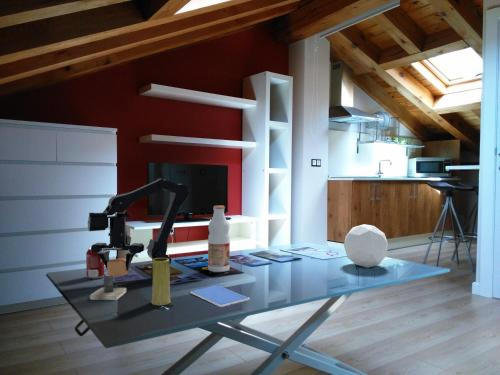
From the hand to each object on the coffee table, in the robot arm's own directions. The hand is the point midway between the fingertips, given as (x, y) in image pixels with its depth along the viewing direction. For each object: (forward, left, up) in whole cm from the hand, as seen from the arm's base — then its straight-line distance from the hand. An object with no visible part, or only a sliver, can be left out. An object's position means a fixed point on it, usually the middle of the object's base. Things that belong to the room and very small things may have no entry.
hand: (118, 270), depth 151 cm
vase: (-22, +20, -6) cm, 30 cm away
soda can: (+13, -9, -6) cm, 17 cm away
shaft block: (-2, +14, -5) cm, 15 cm away
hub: (0, 0, -1) cm, 1 cm away
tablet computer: (-40, +12, -6) cm, 42 cm away
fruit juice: (-35, -25, -6) cm, 44 cm away
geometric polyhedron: (-101, -37, -6) cm, 108 cm away
